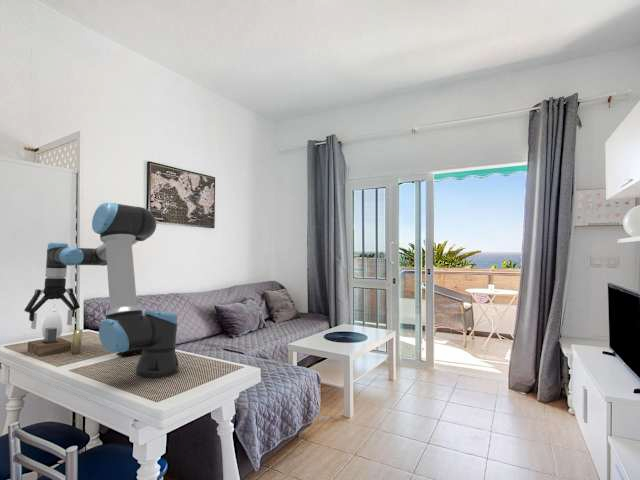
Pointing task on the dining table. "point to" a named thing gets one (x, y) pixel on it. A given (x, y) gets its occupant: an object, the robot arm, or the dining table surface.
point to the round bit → (77, 342)
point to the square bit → (50, 335)
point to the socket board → (49, 347)
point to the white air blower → (53, 322)
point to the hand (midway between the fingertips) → (51, 326)
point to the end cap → (130, 352)
